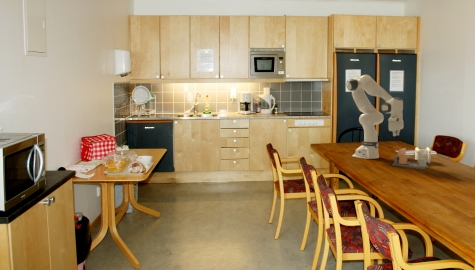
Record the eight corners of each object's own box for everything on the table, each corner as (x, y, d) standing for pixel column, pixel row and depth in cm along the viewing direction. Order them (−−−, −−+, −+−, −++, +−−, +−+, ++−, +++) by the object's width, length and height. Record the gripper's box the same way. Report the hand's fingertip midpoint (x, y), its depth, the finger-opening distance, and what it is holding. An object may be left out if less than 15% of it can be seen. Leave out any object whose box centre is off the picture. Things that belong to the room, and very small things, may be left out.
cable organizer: (430, 164, 354) (431, 150, 352) (416, 164, 357) (417, 149, 355) (427, 160, 368) (428, 147, 367) (414, 160, 371) (414, 146, 369)
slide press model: (392, 165, 353) (392, 156, 352) (397, 163, 360) (398, 154, 359) (423, 169, 337) (423, 160, 336) (428, 167, 344) (428, 158, 343)
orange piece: (397, 163, 349) (397, 150, 347) (403, 161, 358) (404, 147, 356) (405, 164, 345) (405, 150, 343) (411, 162, 354) (411, 148, 352)
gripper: (398, 116, 361) (397, 133, 363) (387, 119, 346) (386, 136, 348) (406, 117, 357) (405, 134, 359) (395, 119, 342) (394, 137, 344)
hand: (396, 135), depth 353 cm, fingers open, 4 cm apart
